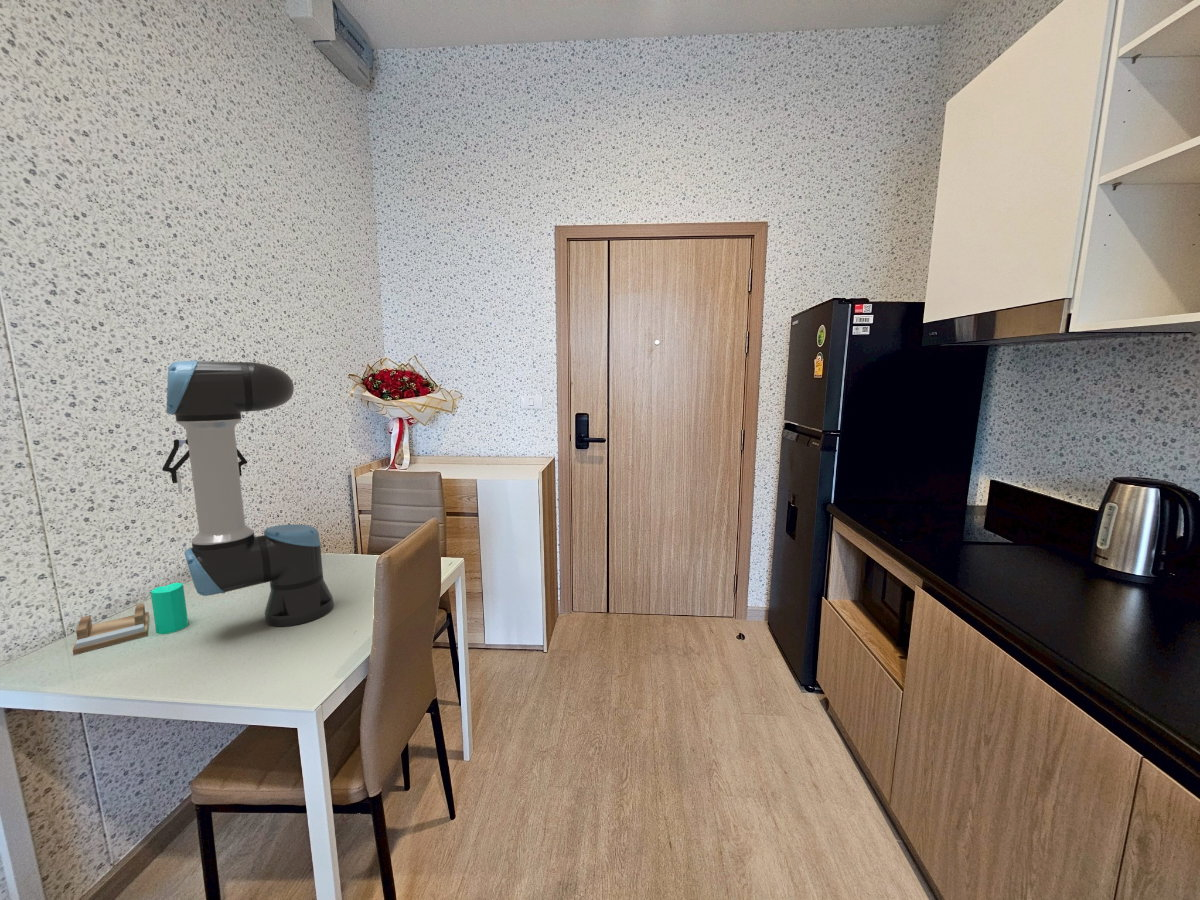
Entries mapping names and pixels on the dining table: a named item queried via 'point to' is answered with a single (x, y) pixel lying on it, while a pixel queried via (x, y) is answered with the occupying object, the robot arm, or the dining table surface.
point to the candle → (169, 608)
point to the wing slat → (109, 635)
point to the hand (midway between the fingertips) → (209, 490)
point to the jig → (111, 629)
